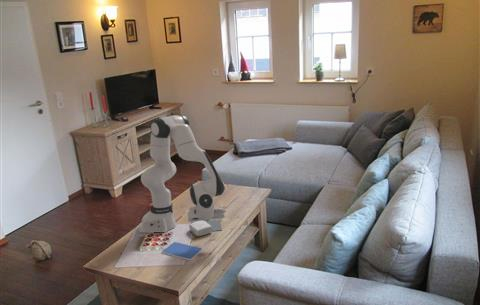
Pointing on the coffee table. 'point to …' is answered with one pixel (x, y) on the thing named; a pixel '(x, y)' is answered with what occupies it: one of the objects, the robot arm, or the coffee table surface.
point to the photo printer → (200, 228)
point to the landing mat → (214, 225)
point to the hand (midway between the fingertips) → (206, 220)
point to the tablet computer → (182, 251)
